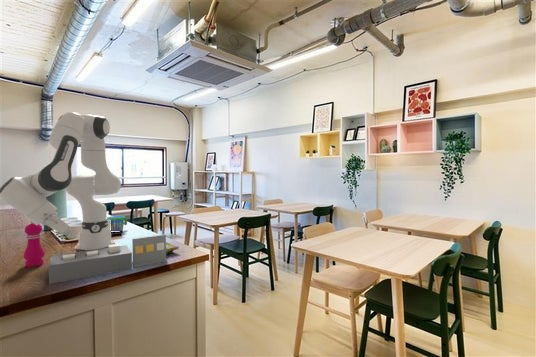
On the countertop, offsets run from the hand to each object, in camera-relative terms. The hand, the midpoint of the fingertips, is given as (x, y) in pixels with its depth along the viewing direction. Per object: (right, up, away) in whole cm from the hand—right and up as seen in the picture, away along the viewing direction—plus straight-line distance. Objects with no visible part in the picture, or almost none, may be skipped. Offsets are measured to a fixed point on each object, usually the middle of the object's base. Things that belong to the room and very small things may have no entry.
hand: (72, 236), depth 115 cm
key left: (-1, -12, -1) cm, 12 cm away
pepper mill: (-24, -15, +11) cm, 30 cm away
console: (+6, -15, +3) cm, 16 cm away
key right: (+13, -10, +8) cm, 18 cm away
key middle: (+6, -12, +3) cm, 14 cm away
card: (+26, -15, +13) cm, 33 cm away
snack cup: (-22, -12, +73) cm, 78 cm away
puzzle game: (+23, -14, +29) cm, 40 cm away
